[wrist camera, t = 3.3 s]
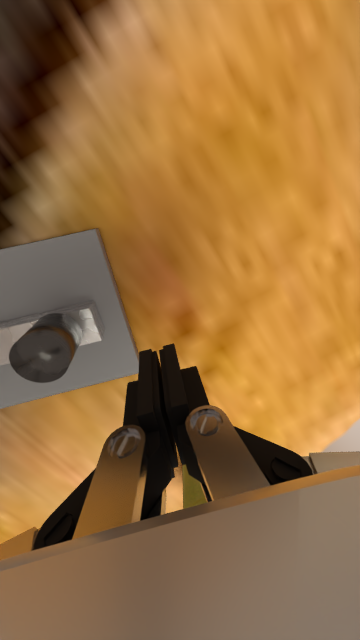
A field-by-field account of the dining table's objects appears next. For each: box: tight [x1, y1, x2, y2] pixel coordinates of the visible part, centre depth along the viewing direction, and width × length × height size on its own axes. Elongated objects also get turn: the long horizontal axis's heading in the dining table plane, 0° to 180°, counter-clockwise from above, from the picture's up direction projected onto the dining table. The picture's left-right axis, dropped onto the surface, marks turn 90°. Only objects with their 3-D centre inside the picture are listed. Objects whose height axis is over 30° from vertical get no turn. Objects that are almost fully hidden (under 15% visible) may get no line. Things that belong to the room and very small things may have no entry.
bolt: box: [0, 300, 105, 383], centre depth 18 cm, size 4×12×6 cm, turn 101°
